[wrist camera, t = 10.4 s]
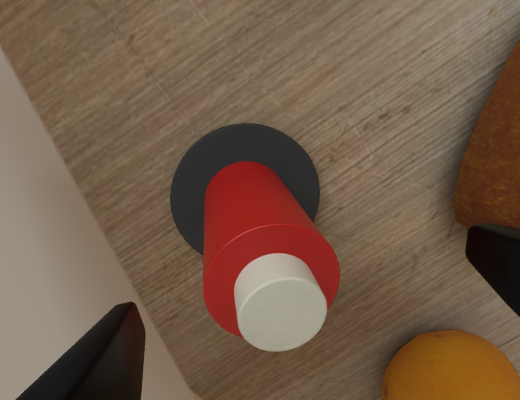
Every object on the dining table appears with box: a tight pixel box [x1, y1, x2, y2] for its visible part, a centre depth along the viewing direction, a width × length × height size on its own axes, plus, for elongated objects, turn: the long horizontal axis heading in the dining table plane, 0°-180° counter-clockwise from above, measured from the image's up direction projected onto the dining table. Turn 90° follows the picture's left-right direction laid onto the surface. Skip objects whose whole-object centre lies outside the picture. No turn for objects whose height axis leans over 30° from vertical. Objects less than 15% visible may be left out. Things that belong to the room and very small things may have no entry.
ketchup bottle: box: [203, 161, 340, 352], centre depth 15 cm, size 5×5×11 cm
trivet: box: [170, 123, 319, 255], centre depth 20 cm, size 10×10×1 cm
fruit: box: [382, 330, 520, 400], centre depth 25 cm, size 10×10×8 cm
